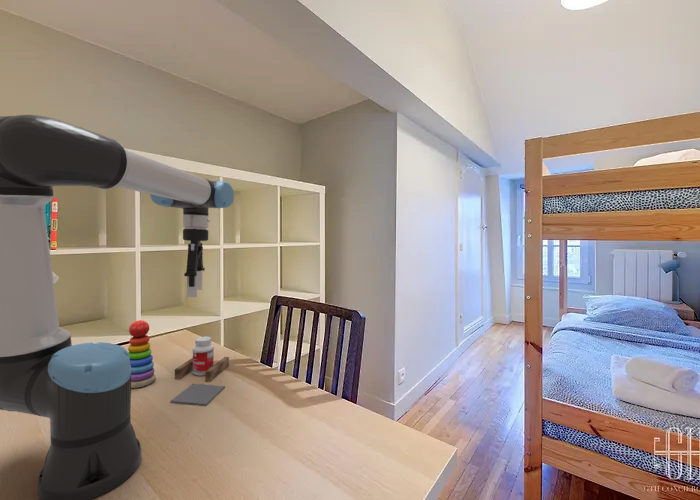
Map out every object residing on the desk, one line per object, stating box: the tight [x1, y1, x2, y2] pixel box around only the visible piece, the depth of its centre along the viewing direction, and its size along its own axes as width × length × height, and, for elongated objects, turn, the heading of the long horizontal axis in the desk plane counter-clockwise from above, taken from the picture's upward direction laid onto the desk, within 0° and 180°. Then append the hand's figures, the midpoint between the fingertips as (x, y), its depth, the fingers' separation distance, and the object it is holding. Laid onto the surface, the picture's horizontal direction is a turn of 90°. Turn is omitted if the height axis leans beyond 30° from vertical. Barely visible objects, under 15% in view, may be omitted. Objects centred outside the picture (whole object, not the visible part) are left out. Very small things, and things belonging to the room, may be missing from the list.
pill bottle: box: [192, 335, 215, 377], centre depth 104 cm, size 6×6×11 cm
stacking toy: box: [127, 319, 157, 389], centre depth 96 cm, size 8×8×19 cm
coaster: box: [170, 383, 226, 407], centre depth 90 cm, size 10×10×1 cm
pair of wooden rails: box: [174, 356, 230, 383], centre depth 104 cm, size 12×12×3 cm
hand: (195, 293), depth 106 cm, fingers open, 13 cm apart
